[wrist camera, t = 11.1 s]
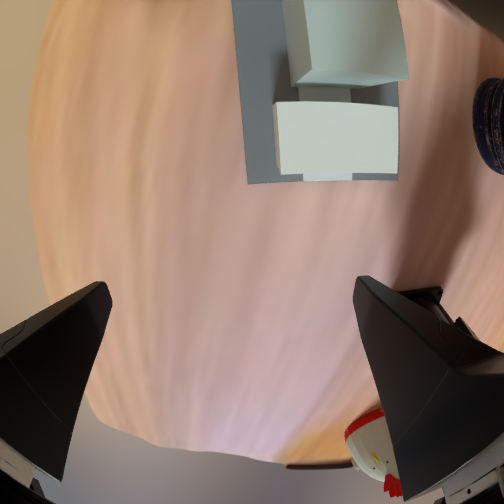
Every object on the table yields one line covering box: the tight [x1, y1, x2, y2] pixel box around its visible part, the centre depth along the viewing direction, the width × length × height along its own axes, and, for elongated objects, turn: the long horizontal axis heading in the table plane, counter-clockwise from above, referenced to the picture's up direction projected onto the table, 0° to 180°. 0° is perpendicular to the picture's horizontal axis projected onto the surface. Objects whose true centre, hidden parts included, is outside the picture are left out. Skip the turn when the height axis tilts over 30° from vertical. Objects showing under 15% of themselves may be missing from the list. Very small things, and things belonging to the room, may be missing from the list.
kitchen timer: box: [345, 408, 403, 497], centre depth 30 cm, size 14×14×15 cm
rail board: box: [232, 0, 399, 184], centre depth 13 cm, size 11×20×4 cm, turn 4°
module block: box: [281, 0, 409, 89], centre depth 10 cm, size 4×7×7 cm, turn 5°
